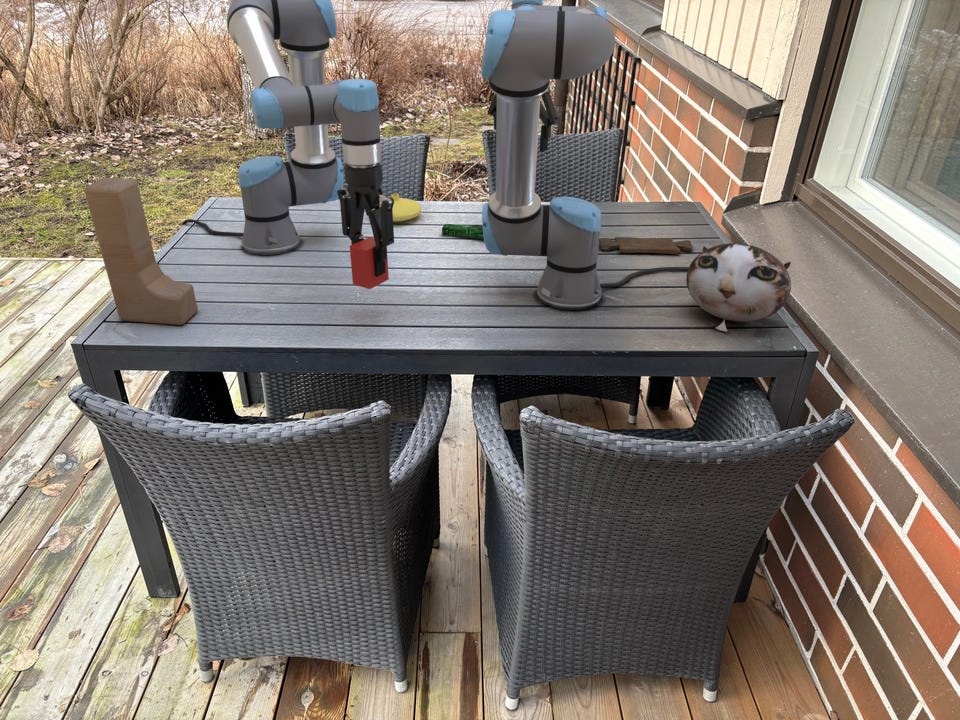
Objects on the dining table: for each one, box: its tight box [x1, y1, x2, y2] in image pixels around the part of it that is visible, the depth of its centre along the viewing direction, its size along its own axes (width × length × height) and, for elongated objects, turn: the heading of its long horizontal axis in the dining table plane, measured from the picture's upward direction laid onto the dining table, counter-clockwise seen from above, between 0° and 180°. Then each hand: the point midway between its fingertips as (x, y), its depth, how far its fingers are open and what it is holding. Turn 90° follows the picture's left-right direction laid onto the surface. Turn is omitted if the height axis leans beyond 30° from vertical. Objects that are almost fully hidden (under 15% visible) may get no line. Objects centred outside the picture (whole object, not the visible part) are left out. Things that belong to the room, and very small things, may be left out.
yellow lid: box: [373, 193, 422, 223], centre depth 215 cm, size 16×16×7 cm
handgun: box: [441, 223, 484, 242], centre depth 207 cm, size 16×3×15 cm
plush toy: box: [685, 242, 792, 332], centre depth 158 cm, size 22×18×20 cm
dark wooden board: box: [599, 236, 693, 255], centre depth 198 cm, size 26×2×10 cm
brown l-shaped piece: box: [83, 177, 198, 326], centre depth 152 cm, size 8×15×30 cm, turn 82°
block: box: [349, 236, 390, 290], centre depth 153 cm, size 5×6×9 cm
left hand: (370, 271), depth 154 cm, fingers closed on block, 5 cm apart
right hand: (521, 147), depth 190 cm, fingers open, 13 cm apart
